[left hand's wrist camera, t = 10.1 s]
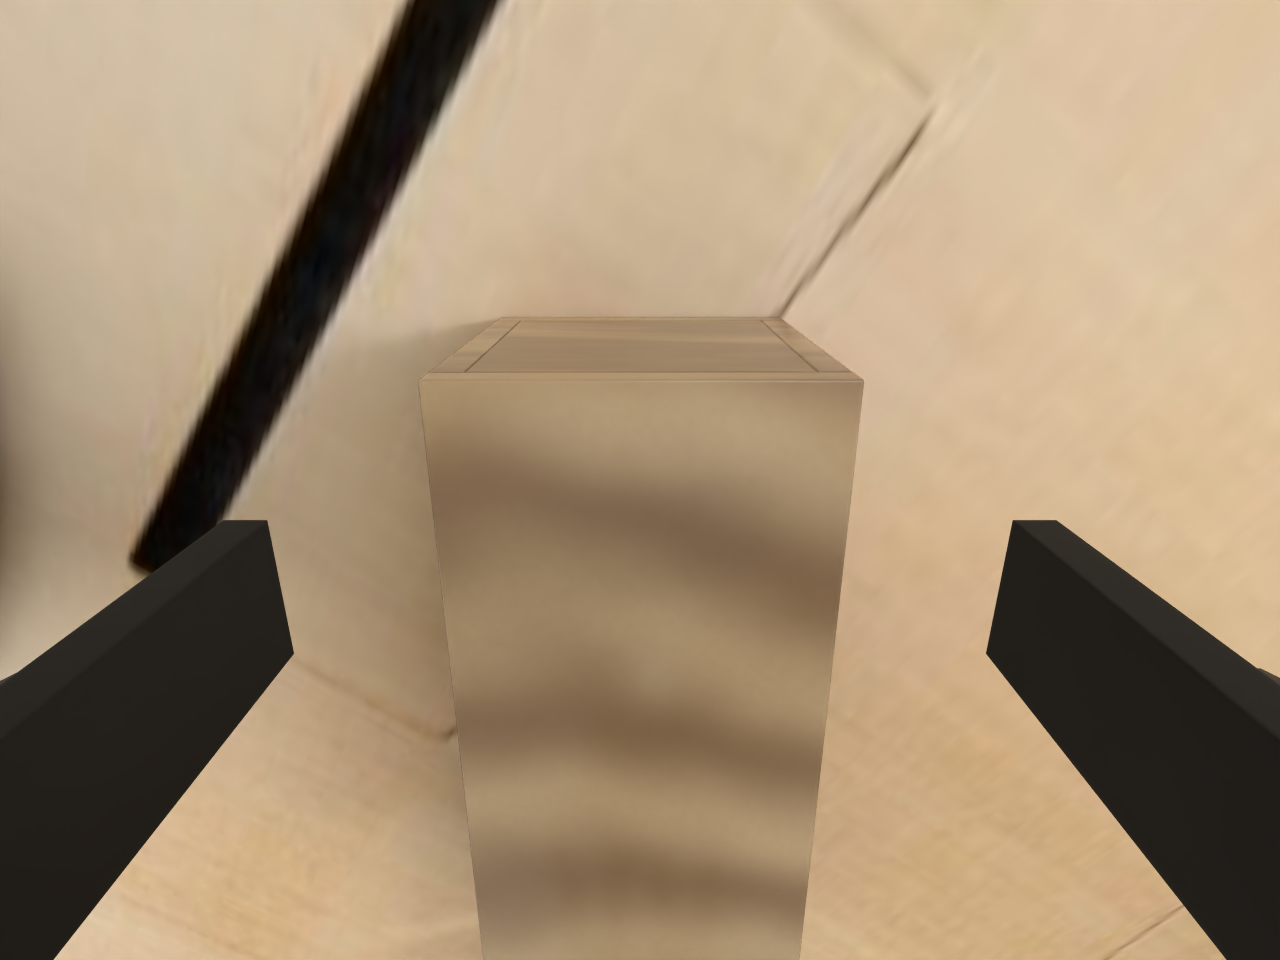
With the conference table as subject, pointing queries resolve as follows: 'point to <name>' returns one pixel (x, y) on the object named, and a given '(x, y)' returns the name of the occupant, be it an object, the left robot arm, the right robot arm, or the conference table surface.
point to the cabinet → (641, 625)
